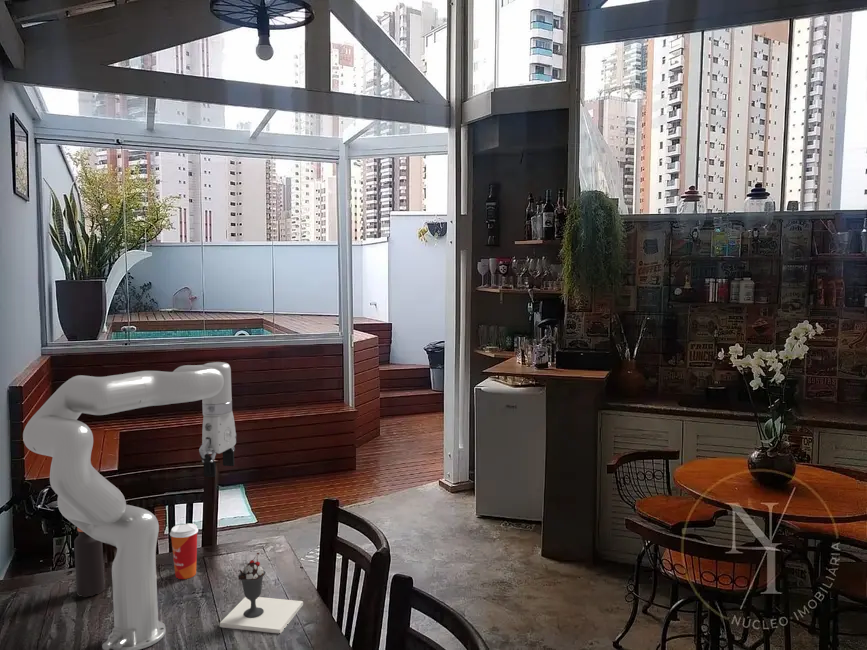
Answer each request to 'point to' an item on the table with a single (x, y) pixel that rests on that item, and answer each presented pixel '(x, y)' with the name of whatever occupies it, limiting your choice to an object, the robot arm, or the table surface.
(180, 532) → the paper cup
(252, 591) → the sundae
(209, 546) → the table surface
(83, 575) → the bottle
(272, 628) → the board
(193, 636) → the table surface
